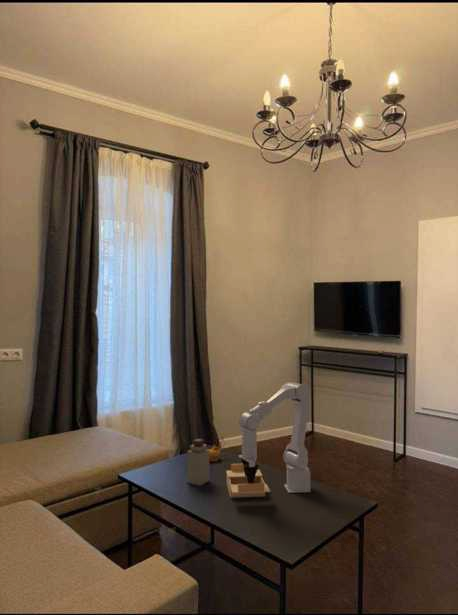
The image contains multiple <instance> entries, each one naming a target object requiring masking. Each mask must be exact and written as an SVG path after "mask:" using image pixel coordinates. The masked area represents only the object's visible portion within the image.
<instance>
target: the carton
mask: <svg viewBox="0 0 458 615" xmlns="http://www.w3.org/2000/svg"><path fill="white" fill-rule="evenodd" d="M246 483H248V481H247V477H231V478H228V476H227V475H226V487H227V490H228V495H229V498H230V499H231V498H233V499H234V498H254V497H255V498H257V497H266V492H255V493H232V490H231V487H230V485H238V484H246ZM254 483H264V484H266V483H265V481H264V479H263V475H262V476H260V477H255V479H254Z"/></svg>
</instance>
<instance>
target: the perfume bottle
mask: <svg viewBox="0 0 458 615" xmlns="http://www.w3.org/2000/svg"><path fill="white" fill-rule="evenodd" d="M204 441H205V440H204V439H202V438H196V439H193V441H192V442H193V444H191V445H189V448H190V449H189V450H187V462H186V463H187V466H186V467H187V473H186V476H187V480H186V483H188V484H191V485H195V486H199V487H200V486H203V485H205V484H206V483H208V482H209V481H210V461H209V458H210V456H209V450H208V449H209V448H208V449H207V446H208V444H205V442H204Z"/></svg>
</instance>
